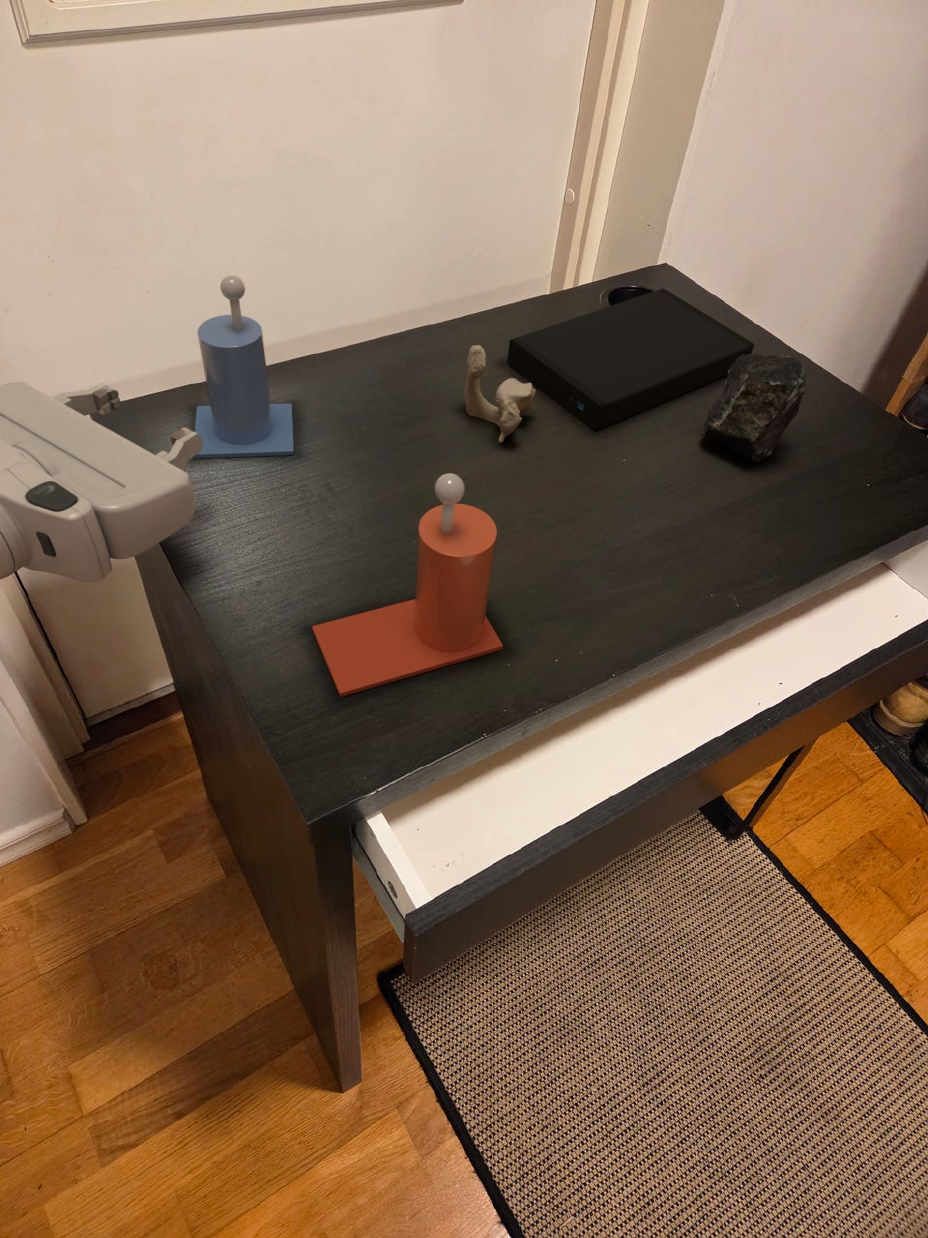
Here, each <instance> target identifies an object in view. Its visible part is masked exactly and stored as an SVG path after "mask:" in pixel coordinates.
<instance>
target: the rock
mask: <svg viewBox="0 0 928 1238" xmlns="http://www.w3.org/2000/svg"><path fill="white" fill-rule="evenodd" d="M806 383H807V376H806V374H805V371H804V367H803V364H802V362H801V361H800V360H799V359H798V357H797V356H796V355H775V354H773V355H772V354H763V353H757V352H756V353H751V354H748V355H741V356H740V357H739V358H736V361H735V363H734V364H733V365H732V366H731V367H730V369H729V371H728V374H727V375H726V379H725V382H724V389H723V393H722V395H721V397H719V398H717V399H716V400H715V401H714V402H713V404H712V405H711V406H710V408H709V410H708V414H707V418H706V420H705V422H704V424H703V428H702V430H701V432H700V435H701V437H703V438H704V439H707V440H710V441H716V442H717V443H719V444H721V445H722V446H725V447H726V448H728V449H730V450H731V451H732V452H735V453H737V454H739V455H740V456H742V457H744V458H745V459H747V460H749V461H750V462H751V463H755V462H761V461H763V460H766V459H768V458H769V457H770V456H771V455H772V452H773V450H774V448H775V447H776V445H777V444H778V442H779V441H780V438H781V437H782V436H783V435H784V433H785V431H786V430H787V429H788V427H789V425H790V424H791V422H792V421H793V420H794V418H795V417H797V415H798V414H799V410H800V407H801V403H802V401H803V399H804V398H805V396H806V395H807V384H806Z"/></svg>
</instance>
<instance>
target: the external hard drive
mask: <svg viewBox="0 0 928 1238" xmlns="http://www.w3.org/2000/svg"><path fill="white" fill-rule="evenodd" d="M754 347H755V344H754V342H752V341H751V340H749V339H747V338H746V337H744V336H743V335H741V334H739V333H737V332H736V331H734V330H733V329H731V328H729V327H728V326H726V325H724V324H723V323H721V322H719V321H718V320H716V319H715V318H713V317H712V316H710V315H708V314H707V313H705V312H703V311H701V310H700V309H699V308H697V307H695V306H694V305H692V304H690V303H689V302H687V301H685V300H684V299H682V298H681V297H679V296H677V295H675V294H674V293H672V292H671V291H670V290H667V289H666V288H660V289H656V290H653V291H651V292H648V293H645V294H642V295H638V296H636V297H633V298H630V299H627V300H624V301H621V302H618V303H616V304H615V303H614V304H611V305H609V306H605V307H603V308H601V309H597V310H594V311H592V312H588V313H586V314H582V315H579V316H577V317H573V318H571V319H568V320H565V321H562V322H559V323H555V324H553V325H550V326H546V327H544V328H541V329H537V330H535V331H532V332H529V333H525V334H523V335H520V336H517V337H514V338H511V339H509V343H508V351H507V358H506V359H507V360H506V362H507V366H509V367H510V368H512V369H513V370H514V371H516V372H517V373H518V374H520V376H522V377H523V378H525V379H526V381H529V383H531V384H532V385H534V386H535V387H536V388H538V389H539V390H540V391H541V392H542V393H544V394H546V395H547V396H548V397H550V399H552V400H553V401H554V402H556V403H557V404H559V406H561V407H563V408H564V409H565V410H566V411H567V412H568V413H570V414H571V415H573V416H574V417H575V418H577V419H578V420H579V421H581V422H582V423H583V424H584V425H585V426H587V427H588V428H590V429H591V430H592V431H597V430H600V429H602V428H604V427H606V426H609V425H612V424H614V423H616V422H618V421H621V420H624V419H626V418H628V417H631V416H634V415H635V414H637V413H641V412H643V411H644V410H647V409H649V408H652V407H654V406H657V405H660V404H662V403H664V402H666V401H669V400H671V399H673V398H676V397H678V396H681V395H683V394H685V393H688V392H690V391H692V390H694V389H697V388H700V387H702V386H704V385H707V384H709V383H712V382H715V381H717V380H718V379H720V378H723V377H727V374H728V371H729V369H730V367H731V366H732V365H733V364H734V363H735V361H736V358H739V357H740V356H741V355H748V354H753V350H754V349H755V348H754Z"/></svg>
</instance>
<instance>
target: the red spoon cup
mask: <svg viewBox="0 0 928 1238" xmlns="http://www.w3.org/2000/svg"><path fill="white" fill-rule="evenodd" d="M465 492H466V485H465V482H464V480H463V478H461V477H460V476H459V475H458V474H455V473H444V474H442V475H440V476H439V477H438V478H437V479H436V481H435V483H434V495H435V496H436V498H437V499H438V501H439V502H441V503H442V504H441V505H437V506H435V507H433V508H431V509H429V510H428V511H426V513H424V515H423V516H422V517H421V518H420V520H419V523H418V529H417V530H418V532H417V533H418V534H417V552H416V553H417V554H416V572H415V573H416V574H415V593H414V595H415V596H414V599H415V613H414V628H415V631H416V634H417V635H418V637H419V638H420V639H421V640H422V641H423V642H424V643H425V644H426V645H428V646H430V647H432V648H434V649H437V650H441V651H448V652H454V651H460V650H464V649H467V648H469V647H471V646H472V645H474V644H475V643H476V642H477V641H478V640H479V639H480V637H481V636H482V633H483V629H484V622H485V616H486V614H487V608H488V600H489V594H490V593H489V592H490V585H491V579H492V571H493V564H494V558H495V549H496V543H497V536H498V530H497V525H496V523H495V522H494V520H493V519H492V517H491V516H490V515H489V514H487V512H485V511H483V510H482V509H480V508H478V507H476V506H473V505H469V504H464V503H459V502H460V501H461V500H462V499H463V497H464V495H465Z"/></svg>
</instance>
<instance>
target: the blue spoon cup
mask: <svg viewBox="0 0 928 1238" xmlns="http://www.w3.org/2000/svg"><path fill="white" fill-rule="evenodd" d="M219 288H220V292H221V295H222V296H223V297H224V298H225V299H227V300H228V301H229V306H230V314H222V315H216V316H214V317H210V318H208V319H206V320H204V321H203V322H202V323H201V324H200V325H199V326H198V329H197V338H198V344H199V350H200V355H201V362H202V368H203V373H204V378H205V379H204V380H205V384H206V385H205V386H206V391H207V397H208V403H209V406H210V408H211V414H212V420H213V426H214V431H215V433H216V435H217V436H218V437H219V438H220V439H222V440H224V441H226V442H229V443H233V444H250V443H255V442H258V441H260V440H262V439H264V438H265V437H267V436H268V435H269V434H270V432H271V430H272V427H273V424H272V415H271V406H270V404H271V398H270V397H271V396H270V389H269V380H268V379H269V378H268V370H267V362H266V361H267V360H266V352H265V342H264V334H263V328H262V326H261V324H260V323H259V322H258V321H257V320H255V319H253V318H252V317H250V316H245V315H242V310H241V302H240V300H241V299H242V298H243V297H244V295H245V293H246V285H245V283H244V281H243V280H242V278H240V277H239V276H237V275H236V274H228V275H225V276H224V277H223V278H222V279H221V281H220V286H219Z"/></svg>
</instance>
